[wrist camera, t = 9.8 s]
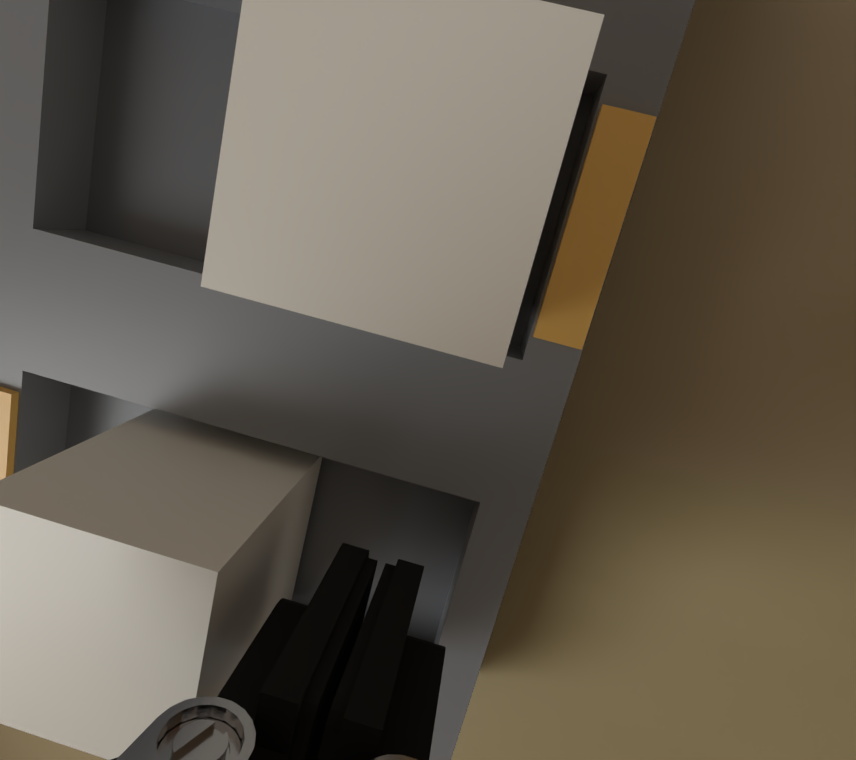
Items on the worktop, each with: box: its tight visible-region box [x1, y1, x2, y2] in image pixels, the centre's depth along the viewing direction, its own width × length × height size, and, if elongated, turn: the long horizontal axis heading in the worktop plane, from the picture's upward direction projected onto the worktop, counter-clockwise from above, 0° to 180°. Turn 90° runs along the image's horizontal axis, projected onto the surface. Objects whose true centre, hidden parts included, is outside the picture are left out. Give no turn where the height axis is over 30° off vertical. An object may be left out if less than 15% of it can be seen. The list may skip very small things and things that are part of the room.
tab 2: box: [201, 0, 604, 368], centre depth 9 cm, size 4×4×5 cm
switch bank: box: [0, 0, 695, 760], centre depth 12 cm, size 24×12×3 cm, turn 166°
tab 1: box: [0, 409, 322, 760], centre depth 11 cm, size 4×4×5 cm
